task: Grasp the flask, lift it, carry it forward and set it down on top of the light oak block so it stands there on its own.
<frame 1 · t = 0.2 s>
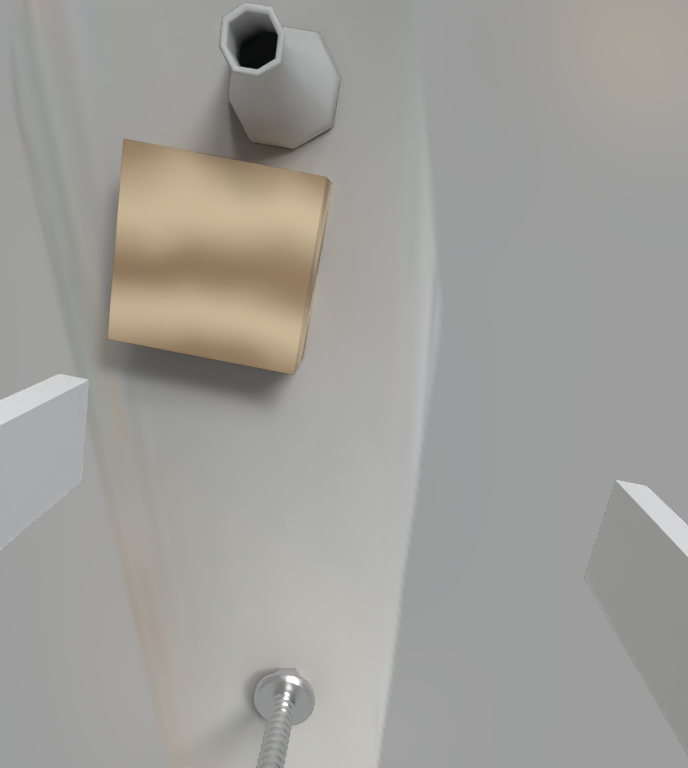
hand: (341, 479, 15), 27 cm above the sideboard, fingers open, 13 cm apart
flask: (285, 90, 38), on the sideboard
oak block: (232, 257, 41), on the sideboard
screw: (288, 679, 49), on the sideboard
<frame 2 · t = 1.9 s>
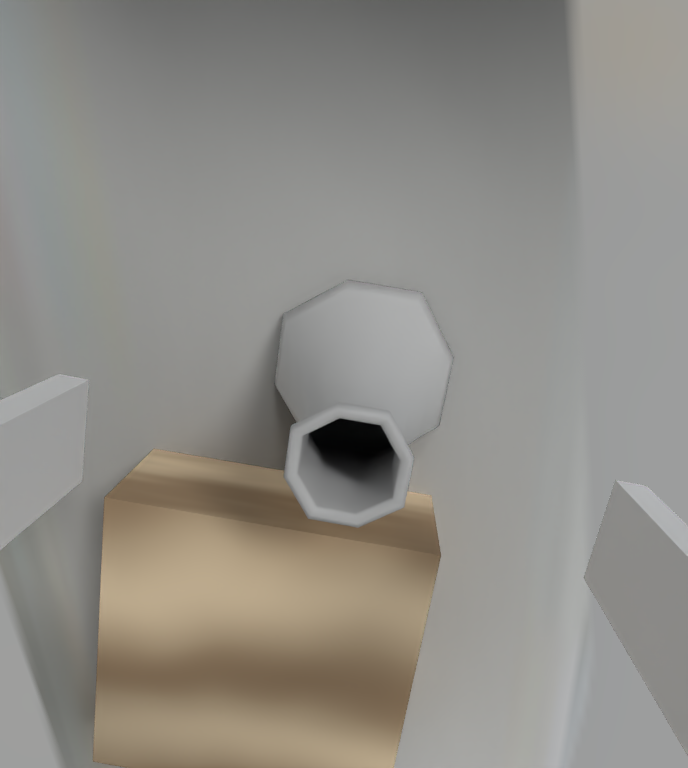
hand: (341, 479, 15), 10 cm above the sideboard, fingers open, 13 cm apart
flask: (363, 367, 24), on the sideboard
oak block: (276, 587, 27), on the sideboard
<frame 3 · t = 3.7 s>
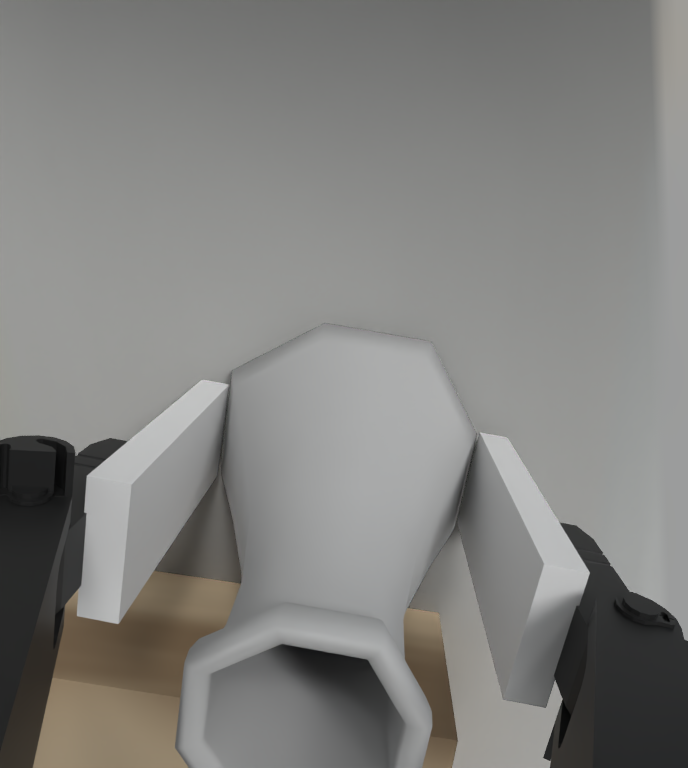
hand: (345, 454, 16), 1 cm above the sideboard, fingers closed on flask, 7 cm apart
flask: (347, 444, 17), on the sideboard, touching gripper
oak block: (231, 733, 20), on the sideboard
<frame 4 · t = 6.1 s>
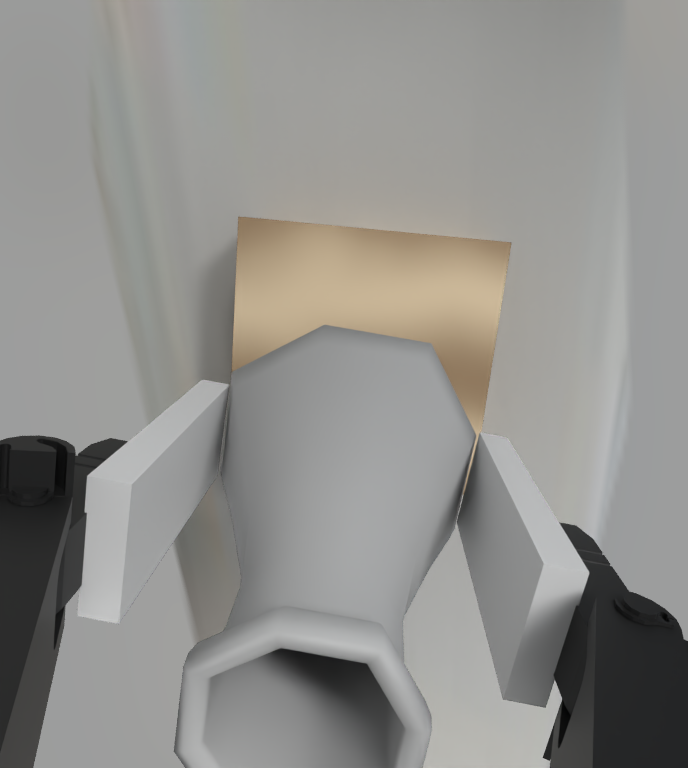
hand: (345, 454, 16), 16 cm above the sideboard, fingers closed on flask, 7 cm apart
flask: (346, 446, 17), point 16 cm above the sideboard, touching gripper
oak block: (363, 342, 32), on the sideboard
when the fingers open (7 cm above the sideboard, at t = 8.4 s): flask drops 2 cm, point 4 cm above the sideboard.
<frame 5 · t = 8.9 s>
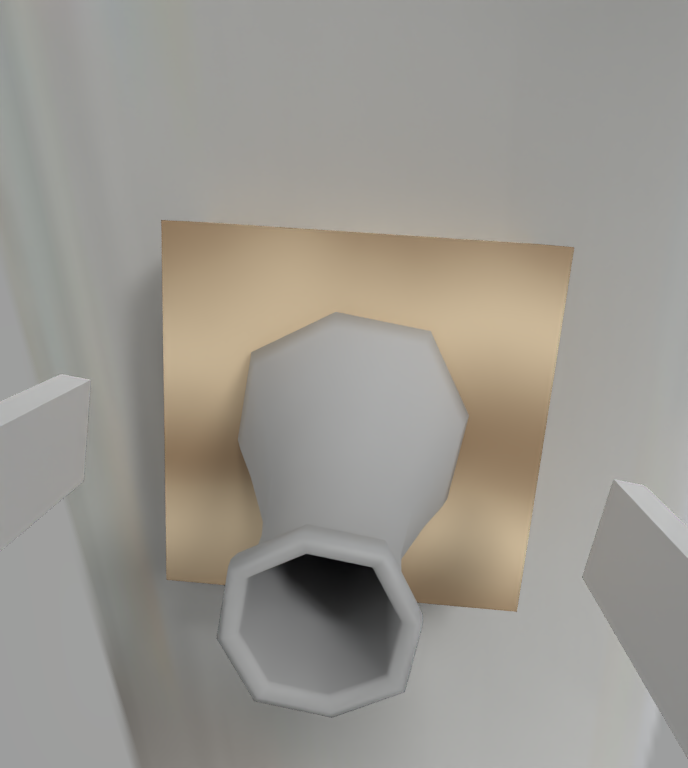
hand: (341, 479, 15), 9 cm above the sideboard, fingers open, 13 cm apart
flask: (352, 422, 19), point 4 cm above the sideboard
oak block: (357, 388, 24), on the sideboard
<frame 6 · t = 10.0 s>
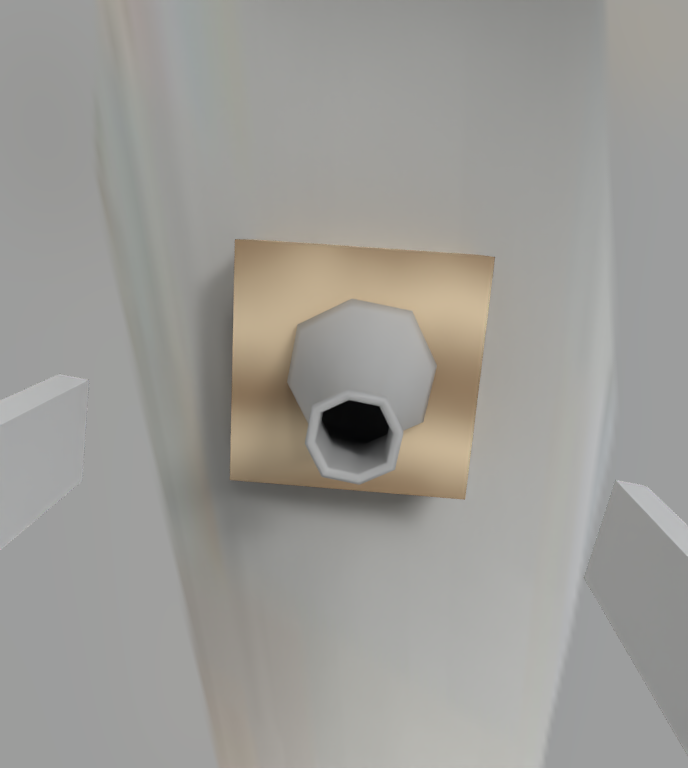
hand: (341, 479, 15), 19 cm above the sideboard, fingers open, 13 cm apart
flask: (361, 371, 29), point 4 cm above the sideboard, touching oak block
oak block: (357, 355, 34), on the sideboard, touching flask
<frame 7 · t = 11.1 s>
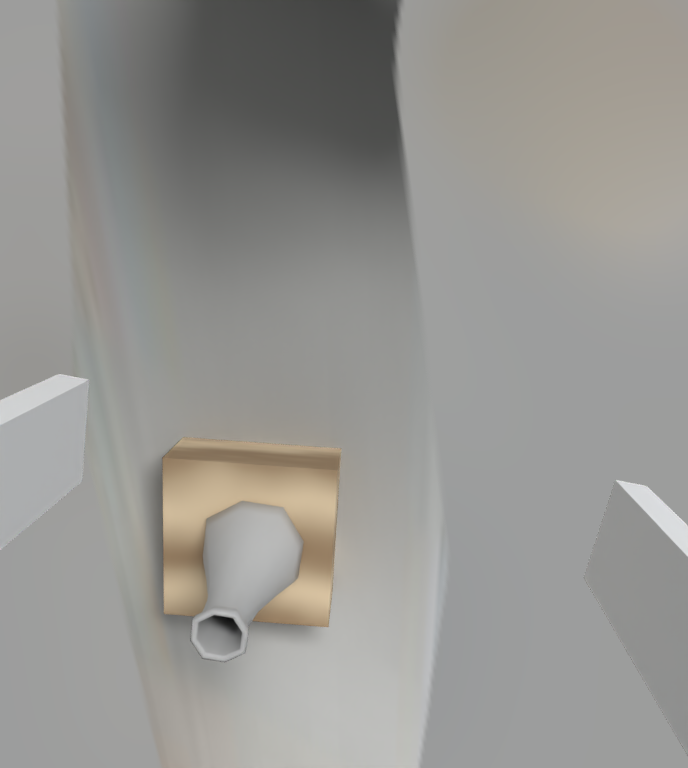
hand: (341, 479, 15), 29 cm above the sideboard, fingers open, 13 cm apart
flask: (254, 545, 42), point 4 cm above the sideboard, touching oak block
oak block: (260, 514, 47), on the sideboard, touching flask
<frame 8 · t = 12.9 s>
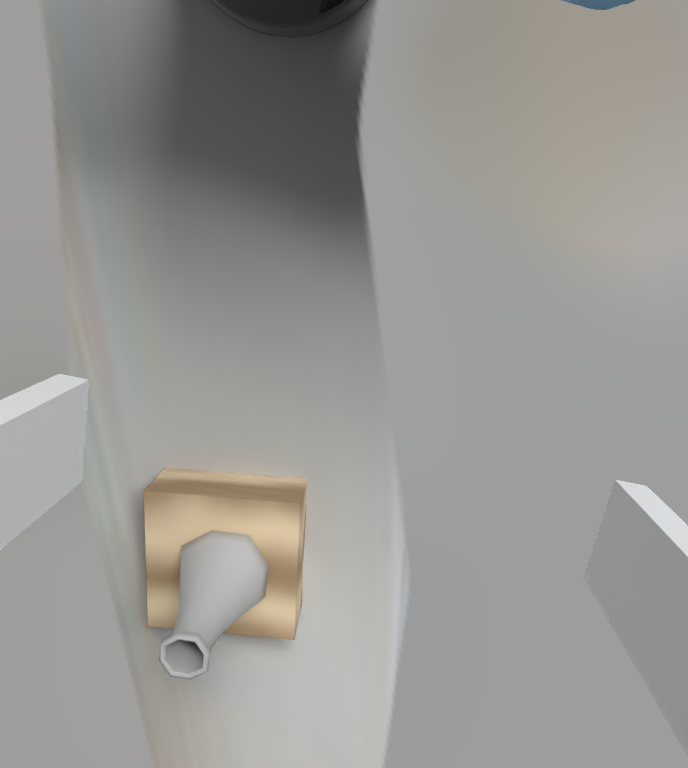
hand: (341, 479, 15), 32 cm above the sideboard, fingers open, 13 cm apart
flask: (225, 568, 47), point 4 cm above the sideboard, touching oak block
oak block: (236, 535, 51), on the sideboard, touching flask
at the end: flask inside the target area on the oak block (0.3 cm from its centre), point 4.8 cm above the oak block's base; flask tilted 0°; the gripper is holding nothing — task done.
